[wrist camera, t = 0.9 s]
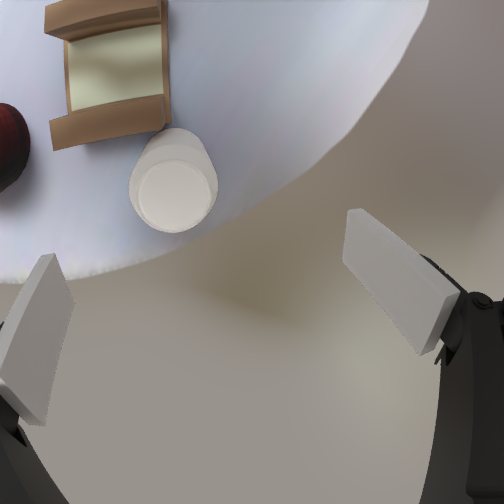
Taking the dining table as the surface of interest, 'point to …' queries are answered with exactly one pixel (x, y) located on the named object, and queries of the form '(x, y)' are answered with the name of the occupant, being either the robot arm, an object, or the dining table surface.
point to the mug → (12, 145)
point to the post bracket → (111, 68)
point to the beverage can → (173, 181)
